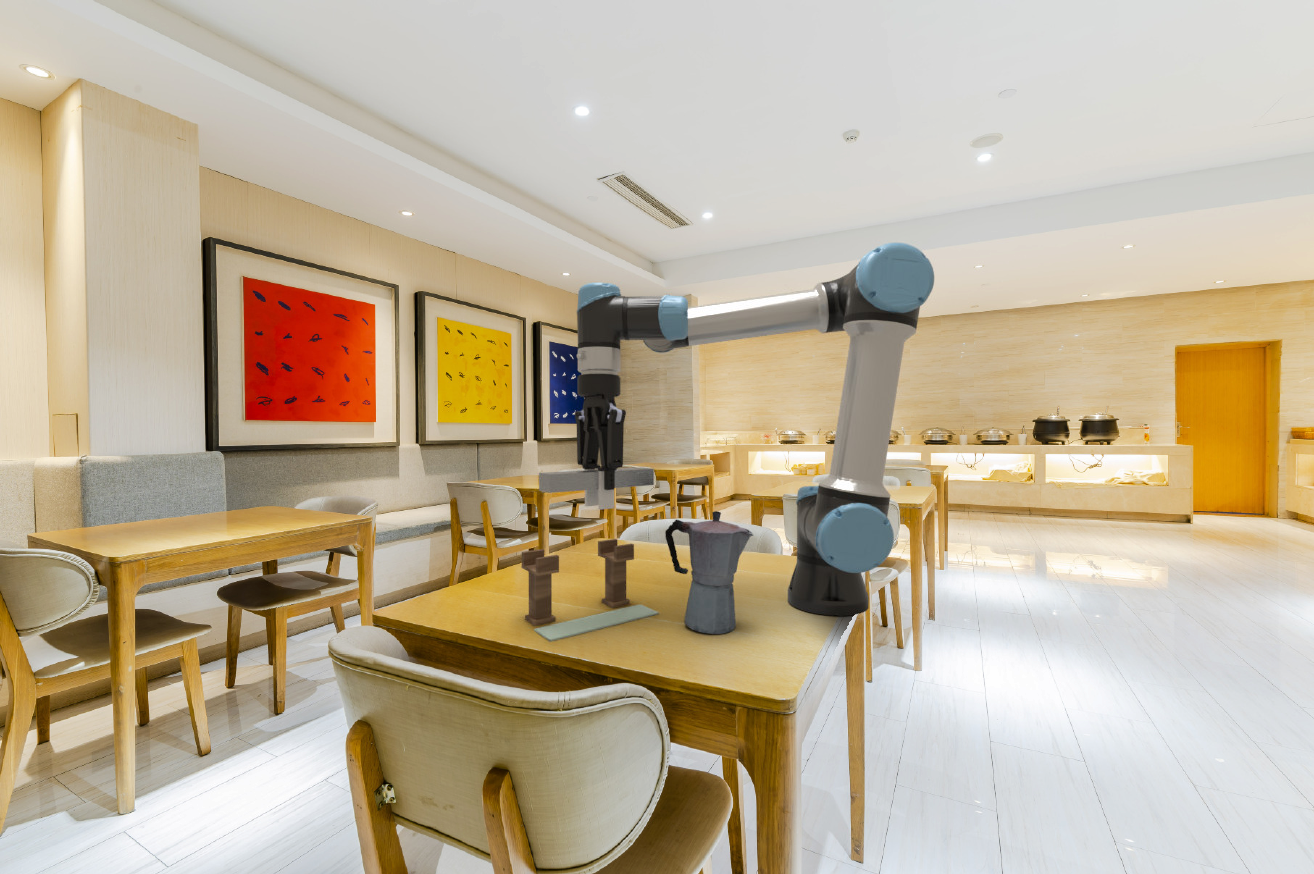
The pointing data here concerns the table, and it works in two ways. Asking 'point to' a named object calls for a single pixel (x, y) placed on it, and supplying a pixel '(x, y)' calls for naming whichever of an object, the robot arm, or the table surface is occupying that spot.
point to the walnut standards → (547, 565)
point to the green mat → (594, 622)
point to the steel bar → (593, 479)
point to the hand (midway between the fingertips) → (599, 506)
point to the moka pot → (710, 571)
